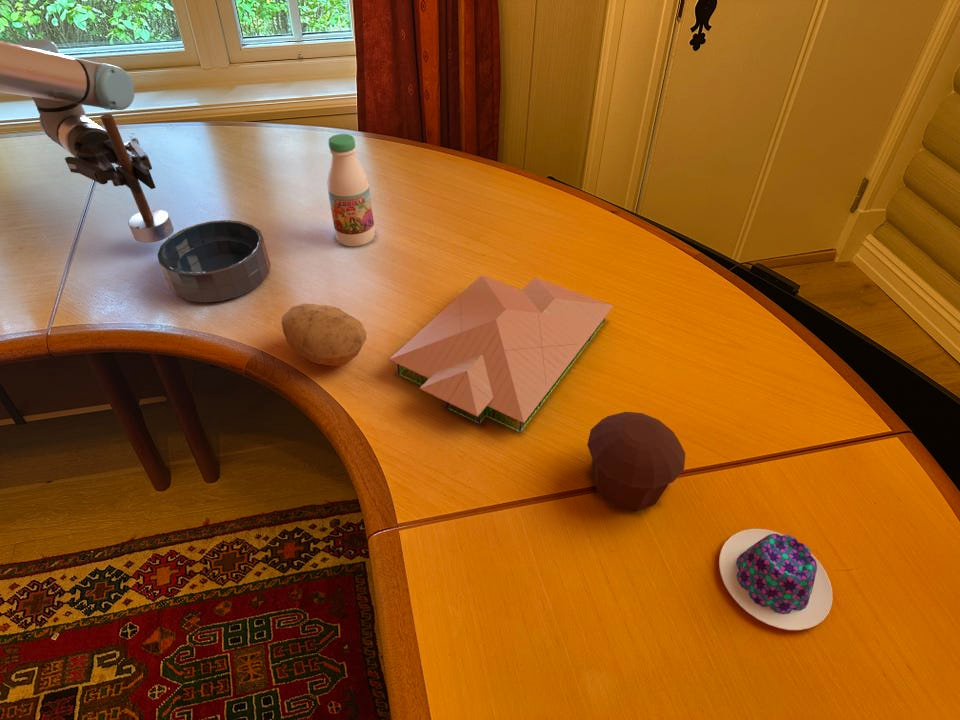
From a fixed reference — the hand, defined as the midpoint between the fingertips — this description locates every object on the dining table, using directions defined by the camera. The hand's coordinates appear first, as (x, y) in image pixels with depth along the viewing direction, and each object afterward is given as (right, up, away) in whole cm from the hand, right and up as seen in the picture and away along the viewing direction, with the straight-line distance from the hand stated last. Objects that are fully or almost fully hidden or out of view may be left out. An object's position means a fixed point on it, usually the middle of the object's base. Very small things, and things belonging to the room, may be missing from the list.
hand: (143, 183), depth 104 cm
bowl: (+11, -15, +6) cm, 19 cm away
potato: (+34, -29, -8) cm, 46 cm away
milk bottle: (+33, -6, +17) cm, 37 cm away
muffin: (+77, -46, -26) cm, 93 cm away
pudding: (+91, -55, -35) cm, 112 cm away
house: (+61, -29, -8) cm, 68 cm away
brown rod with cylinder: (-4, -6, +11) cm, 13 cm away
